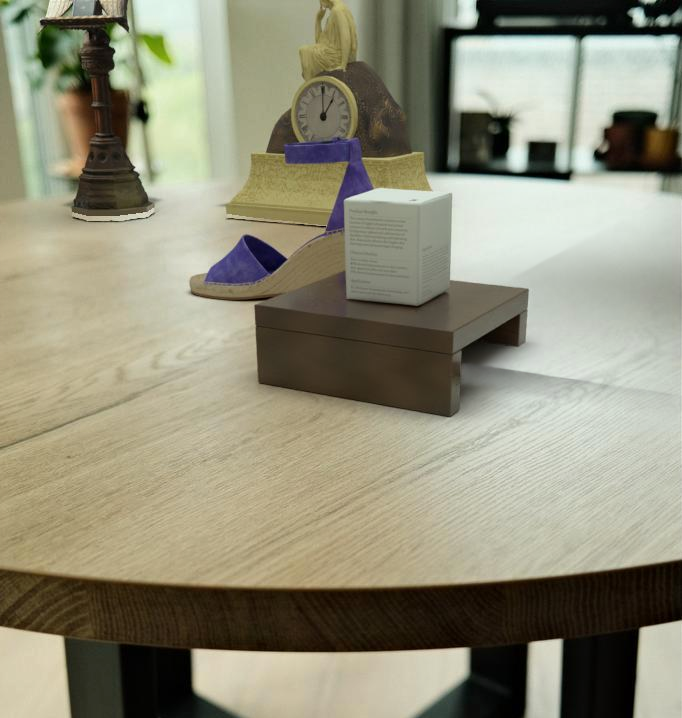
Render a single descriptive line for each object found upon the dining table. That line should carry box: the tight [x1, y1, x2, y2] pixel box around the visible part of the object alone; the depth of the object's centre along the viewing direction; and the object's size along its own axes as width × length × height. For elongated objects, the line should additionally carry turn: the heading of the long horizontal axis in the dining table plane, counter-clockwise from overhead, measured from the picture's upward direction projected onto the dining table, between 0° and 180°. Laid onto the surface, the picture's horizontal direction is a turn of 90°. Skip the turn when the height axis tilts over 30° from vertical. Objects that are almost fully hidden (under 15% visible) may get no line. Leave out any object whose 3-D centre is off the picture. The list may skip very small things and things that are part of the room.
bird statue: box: [37, 0, 156, 216], centre depth 140 cm, size 17×13×35 cm
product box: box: [344, 188, 453, 306], centre depth 75 cm, size 6×6×7 cm
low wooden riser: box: [253, 270, 530, 417], centre depth 78 cm, size 16×14×6 cm
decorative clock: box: [225, 0, 433, 225], centre depth 138 cm, size 28×13×30 cm, turn 60°
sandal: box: [188, 137, 374, 301], centre depth 100 cm, size 8×20×15 cm, turn 67°
